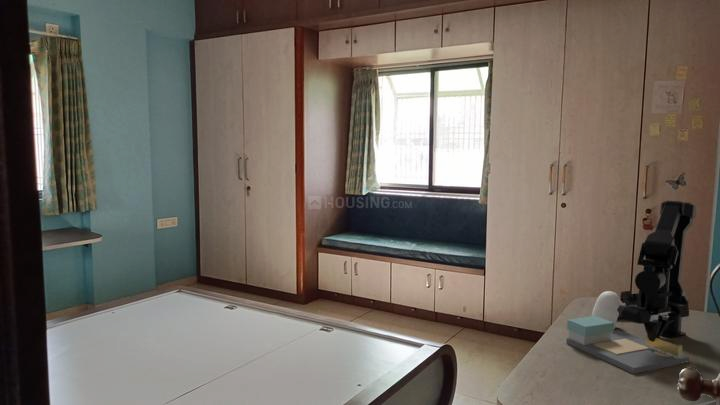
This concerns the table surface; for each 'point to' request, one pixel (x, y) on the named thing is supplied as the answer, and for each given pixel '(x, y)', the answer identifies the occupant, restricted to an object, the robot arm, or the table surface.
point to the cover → (590, 326)
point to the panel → (624, 351)
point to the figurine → (607, 307)
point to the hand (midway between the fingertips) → (652, 343)
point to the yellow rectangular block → (665, 346)
